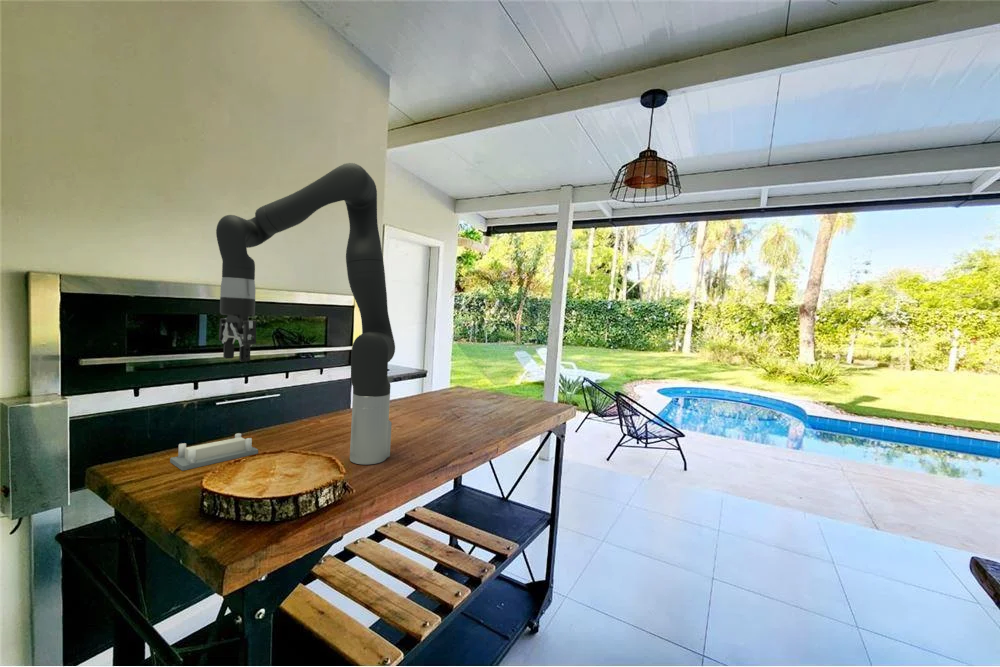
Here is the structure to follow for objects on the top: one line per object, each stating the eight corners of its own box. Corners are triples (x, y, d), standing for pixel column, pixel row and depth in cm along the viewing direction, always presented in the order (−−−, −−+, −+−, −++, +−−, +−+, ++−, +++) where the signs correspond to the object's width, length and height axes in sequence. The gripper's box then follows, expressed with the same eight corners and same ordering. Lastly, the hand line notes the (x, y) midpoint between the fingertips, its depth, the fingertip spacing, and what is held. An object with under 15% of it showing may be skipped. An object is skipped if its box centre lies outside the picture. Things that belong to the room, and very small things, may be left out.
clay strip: (240, 446, 104) (240, 437, 104) (245, 449, 103) (246, 439, 103) (184, 458, 95) (184, 447, 94) (189, 461, 93) (190, 450, 93)
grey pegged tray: (244, 446, 107) (244, 431, 107) (258, 453, 103) (258, 438, 103) (170, 462, 94) (170, 445, 94) (182, 470, 90) (182, 453, 90)
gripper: (267, 298, 102) (265, 361, 103) (240, 297, 110) (238, 356, 110) (235, 296, 96) (233, 363, 96) (208, 295, 103) (207, 358, 104)
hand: (236, 359), depth 103 cm, fingers open, 8 cm apart
